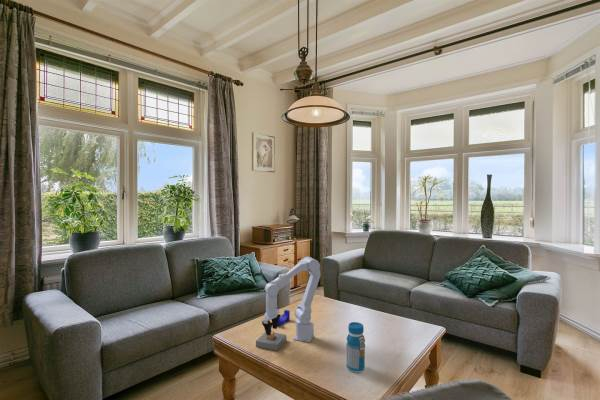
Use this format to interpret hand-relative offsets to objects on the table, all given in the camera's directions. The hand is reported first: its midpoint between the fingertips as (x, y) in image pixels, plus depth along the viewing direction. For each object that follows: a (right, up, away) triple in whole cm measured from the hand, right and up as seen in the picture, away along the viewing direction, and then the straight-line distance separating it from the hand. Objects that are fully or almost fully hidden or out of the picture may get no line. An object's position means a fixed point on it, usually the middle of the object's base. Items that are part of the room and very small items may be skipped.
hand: (271, 331), depth 164 cm
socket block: (0, -6, 0) cm, 6 cm away
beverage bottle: (+40, -8, -22) cm, 47 cm away
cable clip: (+3, -6, +26) cm, 27 cm away
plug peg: (-1, -6, 0) cm, 6 cm away
